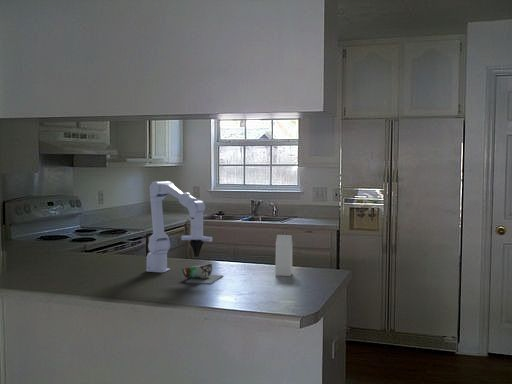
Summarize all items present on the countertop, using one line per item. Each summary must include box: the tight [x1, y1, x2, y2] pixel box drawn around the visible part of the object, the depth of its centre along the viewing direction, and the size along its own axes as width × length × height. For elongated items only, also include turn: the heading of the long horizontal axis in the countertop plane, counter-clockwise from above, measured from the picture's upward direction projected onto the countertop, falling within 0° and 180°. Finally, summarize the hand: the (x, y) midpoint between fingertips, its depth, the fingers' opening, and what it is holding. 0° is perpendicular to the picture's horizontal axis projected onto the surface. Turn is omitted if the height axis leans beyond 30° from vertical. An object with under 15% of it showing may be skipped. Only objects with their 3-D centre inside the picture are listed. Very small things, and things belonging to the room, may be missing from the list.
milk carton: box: [274, 234, 294, 277], centre depth 254 cm, size 7×7×19 cm
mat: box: [185, 274, 224, 285], centre depth 243 cm, size 12×16×1 cm
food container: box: [181, 263, 213, 279], centre depth 244 cm, size 12×6×10 cm
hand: (196, 256), depth 244 cm, fingers closed
